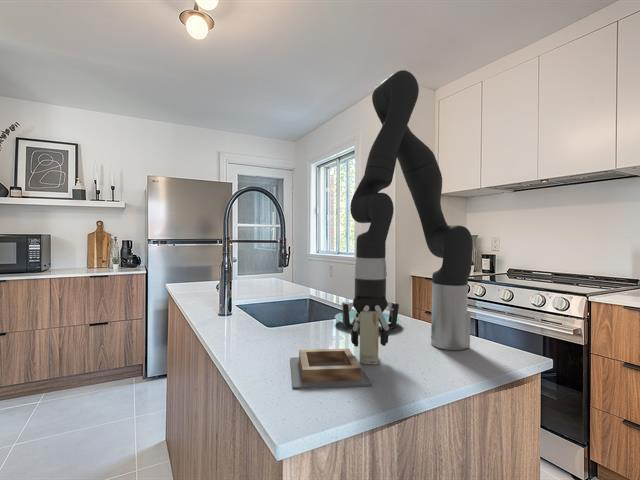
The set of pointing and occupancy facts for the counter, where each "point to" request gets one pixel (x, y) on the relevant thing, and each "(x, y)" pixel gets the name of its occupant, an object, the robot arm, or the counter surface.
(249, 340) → the counter surface
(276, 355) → the counter surface
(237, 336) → the counter surface
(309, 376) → the collar
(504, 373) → the counter surface
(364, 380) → the mat
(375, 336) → the skincare box
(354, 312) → the plate
